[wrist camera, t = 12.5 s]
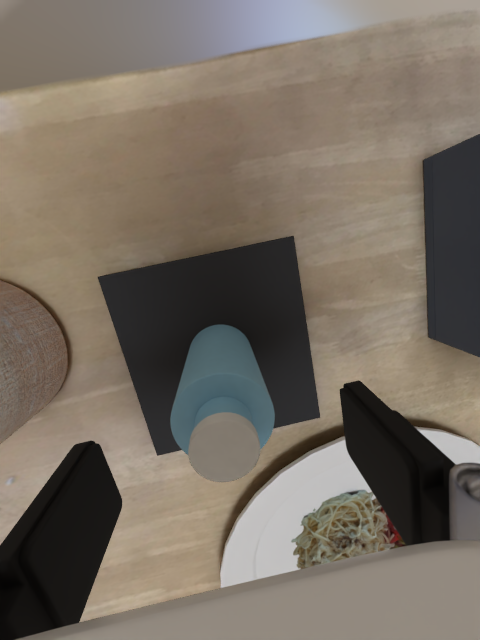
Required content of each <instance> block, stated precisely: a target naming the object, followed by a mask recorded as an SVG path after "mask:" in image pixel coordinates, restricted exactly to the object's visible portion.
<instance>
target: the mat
mask: <svg viewBox="0 0 480 640" xmlns="http://www.w3.org/2000/svg"><path fill="white" fill-rule="evenodd" d="M98 279H99V282H100V285H101V288H102V291H103V294H104V297H105V300H106V303H107V306H108V309H109V312H110V315H111V318H112V321H113V324H114V327H115V330H116V333H117V336H118V339H119V342H120V345H121V348H122V351H123V354H124V357H125V360H126V363H127V366H128V369H129V372H130V375H131V378H132V381H133V384H134V387H135V390H136V393H137V396H138V399H139V402H140V405H141V408H142V411H143V414H144V417H145V420H146V423H147V426H148V429H149V432H150V435H151V438H152V441H153V444H154V447H155V450H156V453H157V455H162V454H166V453H171V452H175V451H179V450H182V449H181V448H180V447H179V445H178V444H177V442H176V441H175V439H174V436H173V434H172V430H171V424H170V418H171V411H172V407H173V404H174V400H175V397H176V393H177V390H178V387H179V383H180V380H181V376H182V373H183V369H184V366H185V362H186V359H187V355H188V352H189V348H190V345H191V343H192V341H193V339H194V338H195V336H196V335H197V334H198V333H199V332H200V331H202V330H203V329H205V328H207V327H209V326H213V325H229V326H232V327H234V328H236V329H238V330H240V331H241V332H242V333H243V334H244V335H245V336H246V337H247V339H248V341H249V343H250V345H251V348H252V351H253V353H254V356H255V359H256V361H257V364H258V366H259V369H260V372H261V374H262V377H263V380H264V382H265V385H266V388H267V390H268V393H269V395H270V398H271V401H272V403H273V407H274V413H275V422H274V427H273V428H277V427H281V426H286V425H290V424H294V423H298V422H303V421H307V420H311V419H315V418H320V413H319V406H318V399H317V392H316V385H315V378H314V372H313V365H312V358H311V351H310V344H309V338H308V331H307V324H306V317H305V310H304V304H303V297H302V290H301V283H300V276H299V269H298V263H297V256H296V249H295V242H294V236H291V237H286V238H281V239H276V240H271V241H267V242H262V243H257V244H252V245H248V246H243V247H238V248H233V249H229V250H224V251H219V252H214V253H210V254H205V255H200V256H195V257H191V258H186V259H181V260H176V261H171V262H167V263H162V264H157V265H152V266H148V267H143V268H138V269H133V270H129V271H124V272H119V273H114V274H110V275H105V276H100V277H98Z"/></svg>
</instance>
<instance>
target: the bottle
mask: <svg viewBox="0 0 480 640" xmlns="http://www.w3.org/2000/svg"><path fill="white" fill-rule="evenodd" d="M274 422H275V413H274V407H273V403H272V401H271V398H270V395H269V393H268V390H267V388H266V385H265V382H264V380H263V377H262V374H261V372H260V369H259V366H258V364H257V361H256V359H255V356H254V353H253V351H252V348H251V345H250V343H249V341H248V339H247V337H246V336H245V335H244V334H243V333H242V332H241V331H240V330H238V329H236V328H234V327H232V326H229V325H213V326H209V327H207V328H205V329H203V330H202V331H200V332H199V333H198V334H197V335H196V336H195V338H194V339H193V341H192V343H191V345H190V348H189V352H188V355H187V359H186V362H185V366H184V369H183V373H182V376H181V380H180V383H179V387H178V390H177V393H176V397H175V400H174V404H173V407H172V411H171V418H170V424H171V430H172V434H173V436H174V439H175V441H176V442H177V444H178V445H179V447H180V448H181V449H182V450H183V451H184V452H185V453H186V454H187V455H188V456H189V460H190V463H191V465H192V467H193V468H194V470H195V471H196V472H197V473H198V474H199V475H201V476H202V477H204V478H206V479H208V480H211V481H215V482H229V481H234V480H237V479H239V478H241V477H243V476H245V475H246V474H248V473H249V472H250V471H251V470H252V469H253V468H254V466H255V465H256V463H257V461H258V459H259V456H260V449H261V448H262V447H263V446H264V445H265V444H266V442H267V441H268V439H269V437H270V435H271V433H272V430H273V427H274Z"/></svg>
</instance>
